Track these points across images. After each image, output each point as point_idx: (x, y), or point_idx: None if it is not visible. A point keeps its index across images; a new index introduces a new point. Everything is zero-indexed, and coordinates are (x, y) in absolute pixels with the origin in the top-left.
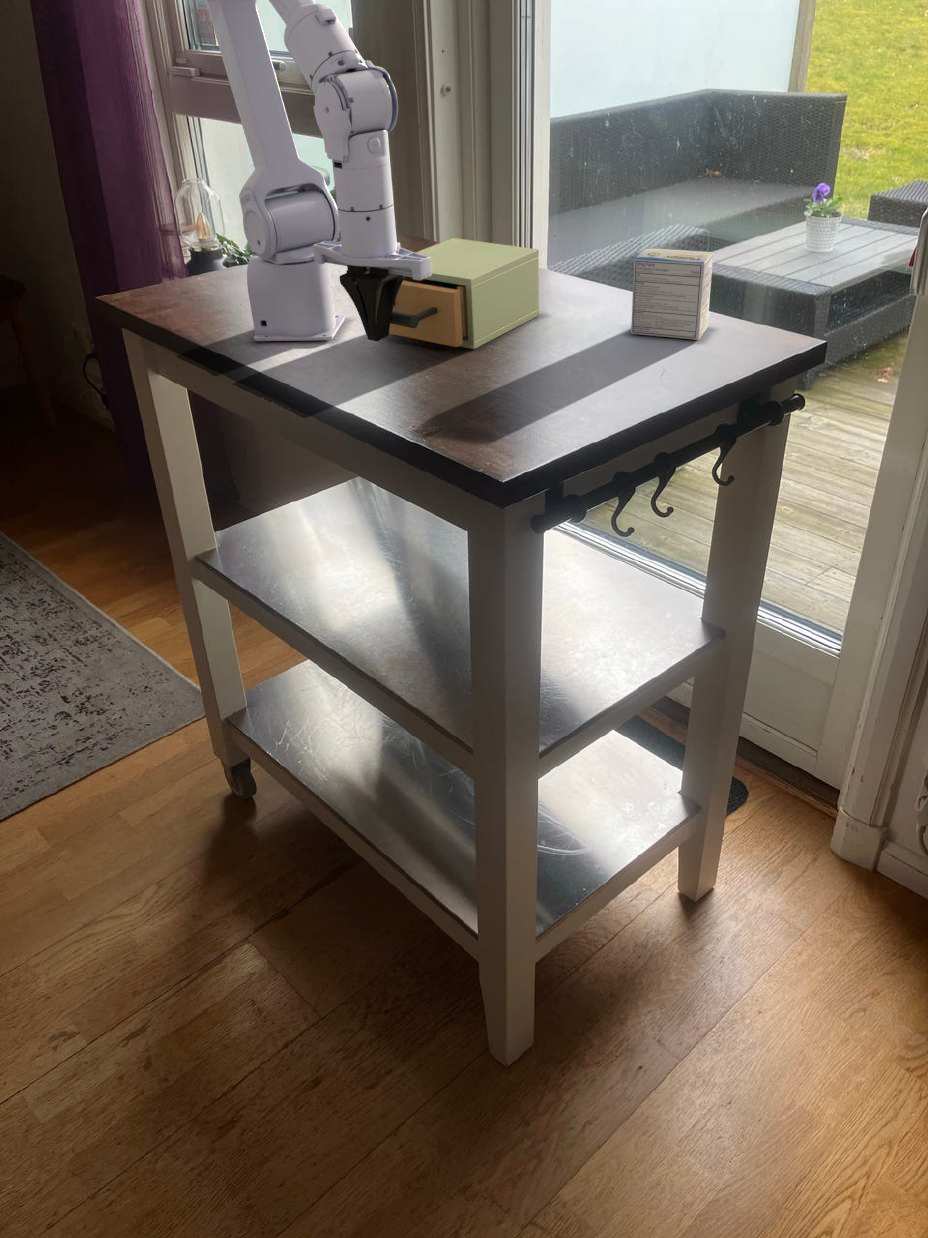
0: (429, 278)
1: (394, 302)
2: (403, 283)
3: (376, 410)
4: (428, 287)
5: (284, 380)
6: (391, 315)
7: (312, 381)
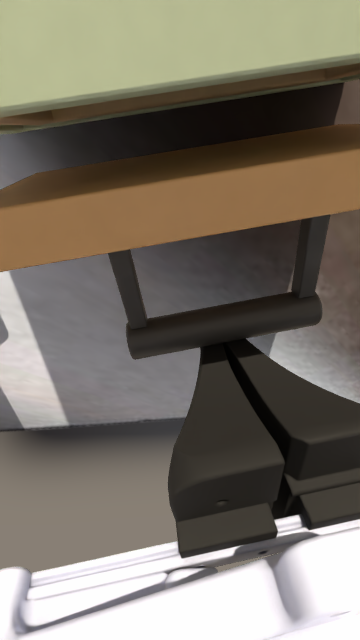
0: (285, 73)
1: (277, 363)
2: (172, 228)
3: None
4: (334, 195)
5: (128, 417)
6: (252, 344)
7: (164, 399)
